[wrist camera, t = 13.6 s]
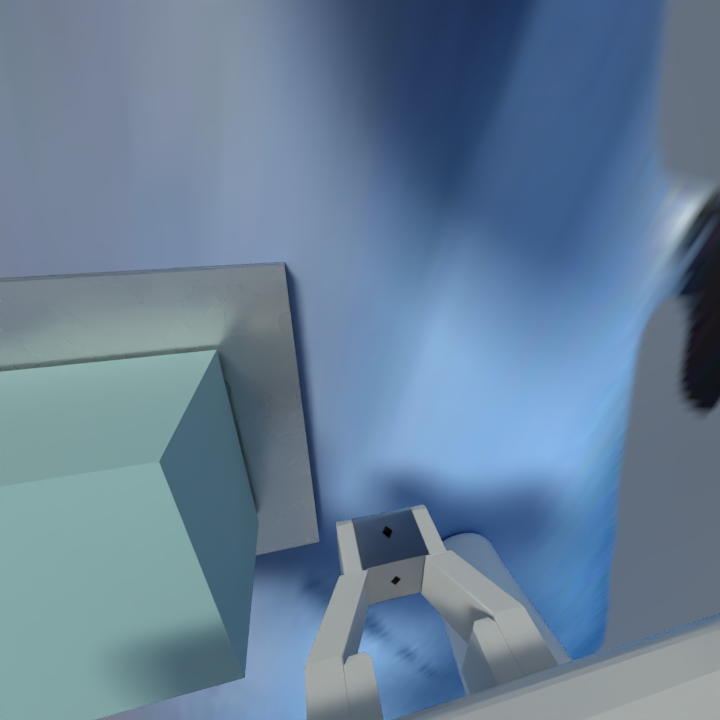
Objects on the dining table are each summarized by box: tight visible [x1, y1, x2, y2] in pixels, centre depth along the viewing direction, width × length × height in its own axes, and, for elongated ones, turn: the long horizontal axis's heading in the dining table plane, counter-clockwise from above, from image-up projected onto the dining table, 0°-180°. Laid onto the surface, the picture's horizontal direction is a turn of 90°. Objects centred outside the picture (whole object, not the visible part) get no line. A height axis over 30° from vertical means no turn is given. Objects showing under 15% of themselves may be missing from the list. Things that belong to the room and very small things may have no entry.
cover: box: [0, 350, 259, 720], centre depth 11 cm, size 10×9×6 cm
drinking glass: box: [442, 533, 573, 695], centre depth 17 cm, size 7×7×15 cm
